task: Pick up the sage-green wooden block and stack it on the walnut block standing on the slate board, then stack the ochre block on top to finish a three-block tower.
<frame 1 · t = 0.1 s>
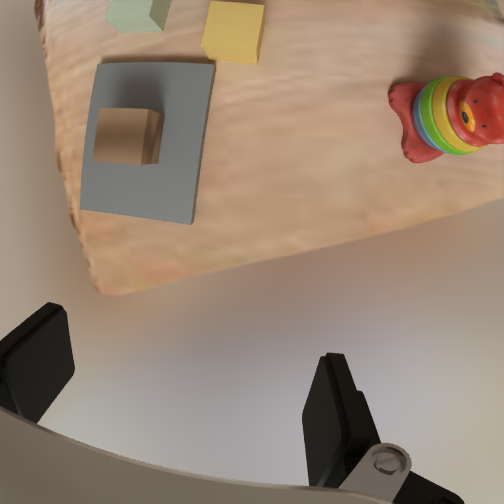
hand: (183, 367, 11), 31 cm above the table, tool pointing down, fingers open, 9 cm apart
sage-green block: (147, 14, 33), on the table
walnut base block: (139, 137, 37), point 1 cm above the table, touching slate base board
ochre block: (237, 41, 34), on the table
stacking bear: (425, 120, 36), on the table
slate base board: (143, 138, 38), on the table
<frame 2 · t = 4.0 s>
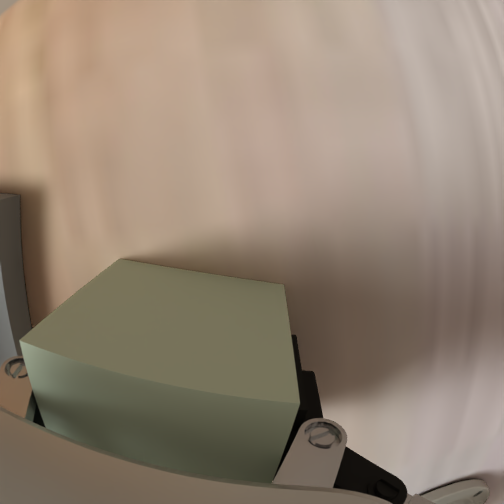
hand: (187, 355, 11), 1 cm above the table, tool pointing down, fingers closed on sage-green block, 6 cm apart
sage-green block: (192, 343, 12), on the table, touching gripper
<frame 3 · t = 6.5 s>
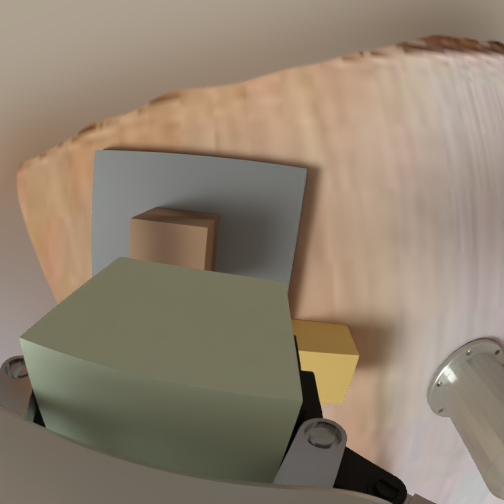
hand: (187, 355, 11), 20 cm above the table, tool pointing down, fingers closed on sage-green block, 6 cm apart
sage-green block: (193, 341, 12), point 19 cm above the table, touching gripper
walnut base block: (184, 242, 30), point 1 cm above the table, touching slate base board
ochre block: (313, 346, 34), on the table
slate base board: (188, 238, 31), on the table
when the fingers open (10 cm above the table, at t = 9.2 s): sage-green block drops 1 cm, resting on walnut base block.
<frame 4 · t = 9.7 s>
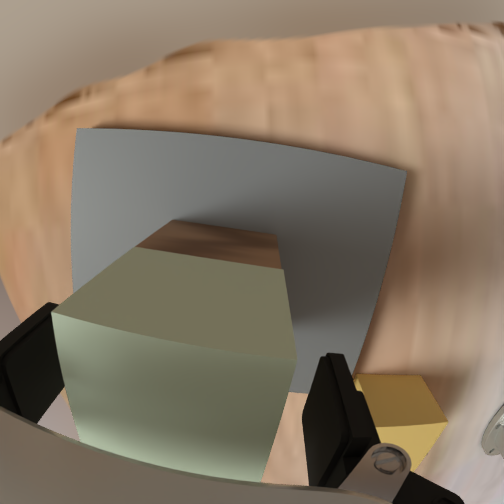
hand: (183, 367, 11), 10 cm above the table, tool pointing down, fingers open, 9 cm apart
sage-green block: (199, 325, 13), point 7 cm above the table, touching walnut base block
walnut base block: (217, 276, 19), point 1 cm above the table, touching sage-green block, slate base board
ochre block: (377, 401, 24), on the table
slate base board: (220, 268, 21), on the table
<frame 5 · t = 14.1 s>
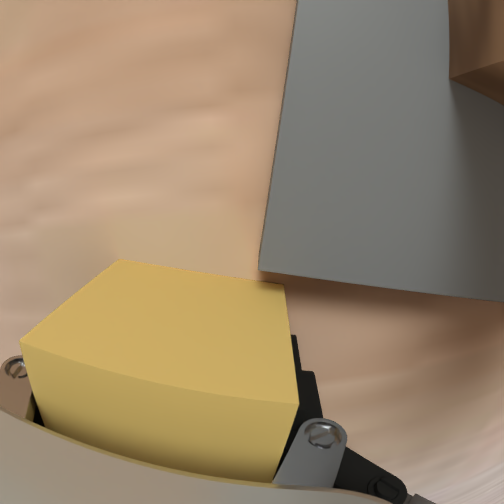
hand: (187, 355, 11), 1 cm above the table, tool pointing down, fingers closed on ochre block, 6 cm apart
ochre block: (192, 343, 12), on the table, touching gripper
slate base board: (489, 48, 8), on the table
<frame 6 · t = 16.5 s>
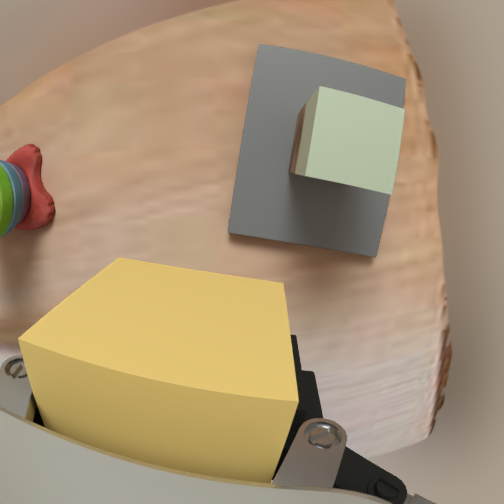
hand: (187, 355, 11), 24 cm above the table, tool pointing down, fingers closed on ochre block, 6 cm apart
sage-green block: (336, 145, 25), point 7 cm above the table, touching walnut base block
walnut base block: (322, 148, 31), point 1 cm above the table, touching sage-green block, slate base board
ochre block: (191, 342, 12), point 23 cm above the table, touching gripper
stacking bear: (23, 192, 34), on the table
slate base board: (320, 149, 32), on the table
when the fingers open (16 cm above the table, at t = 19.2 s): ochre block drops 1 cm, resting on sage-green block.
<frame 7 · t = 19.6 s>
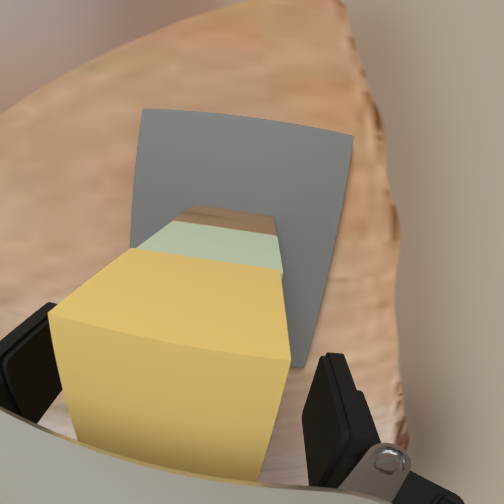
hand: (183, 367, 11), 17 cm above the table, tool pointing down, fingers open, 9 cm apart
sage-green block: (218, 277, 19), point 7 cm above the table, touching ochre block, walnut base block
walnut base block: (228, 248, 25), point 1 cm above the table, touching sage-green block, slate base board
ochre block: (197, 325, 13), point 13 cm above the table, touching sage-green block
slate base board: (230, 243, 26), on the table
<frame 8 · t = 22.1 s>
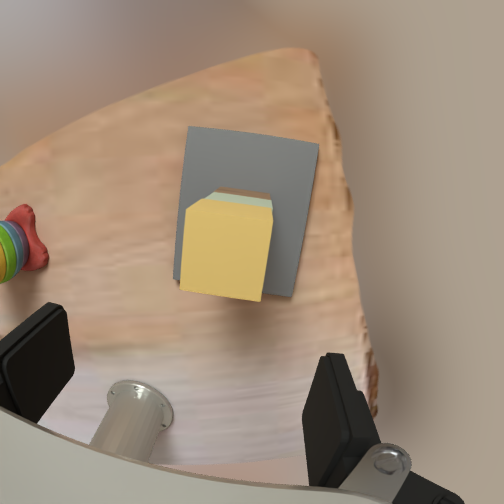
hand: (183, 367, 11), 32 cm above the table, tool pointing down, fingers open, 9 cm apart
sage-green block: (238, 223, 34), point 7 cm above the table, touching ochre block, walnut base block
walnut base block: (241, 213, 40), point 1 cm above the table, touching sage-green block, slate base board
ochre block: (232, 236, 29), point 13 cm above the table, touching sage-green block
stacking bear: (23, 240, 44), on the table
slate base board: (242, 211, 42), on the table
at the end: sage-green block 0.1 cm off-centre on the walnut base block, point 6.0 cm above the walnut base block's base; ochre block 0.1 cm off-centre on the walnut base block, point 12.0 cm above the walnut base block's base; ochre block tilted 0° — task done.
